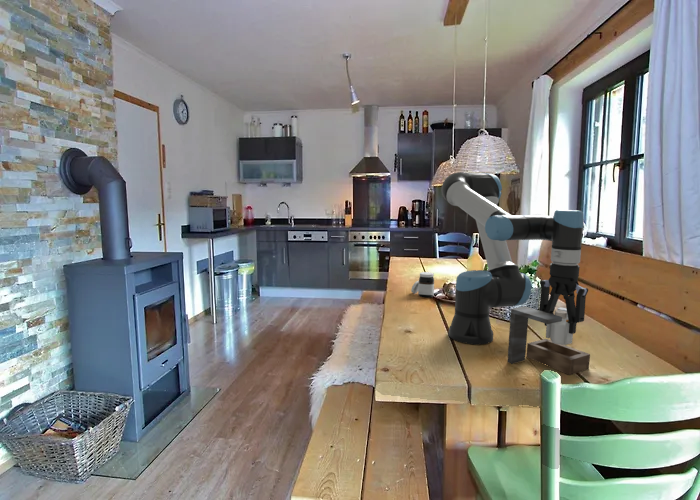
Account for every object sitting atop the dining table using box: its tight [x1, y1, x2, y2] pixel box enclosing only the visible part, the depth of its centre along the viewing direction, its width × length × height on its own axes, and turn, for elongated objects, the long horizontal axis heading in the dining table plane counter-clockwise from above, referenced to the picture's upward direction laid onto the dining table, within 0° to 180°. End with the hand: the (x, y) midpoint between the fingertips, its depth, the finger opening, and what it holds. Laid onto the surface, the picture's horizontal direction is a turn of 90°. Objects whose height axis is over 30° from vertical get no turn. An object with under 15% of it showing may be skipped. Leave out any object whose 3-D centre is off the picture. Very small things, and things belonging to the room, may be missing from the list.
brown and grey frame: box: [506, 306, 591, 376], centre depth 114 cm, size 14×18×17 cm
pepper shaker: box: [549, 309, 567, 346], centre depth 116 cm, size 4×4×10 cm
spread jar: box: [410, 271, 435, 299], centre depth 198 cm, size 12×11×12 cm
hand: (558, 340), depth 117 cm, fingers closed on pepper shaker, 5 cm apart
